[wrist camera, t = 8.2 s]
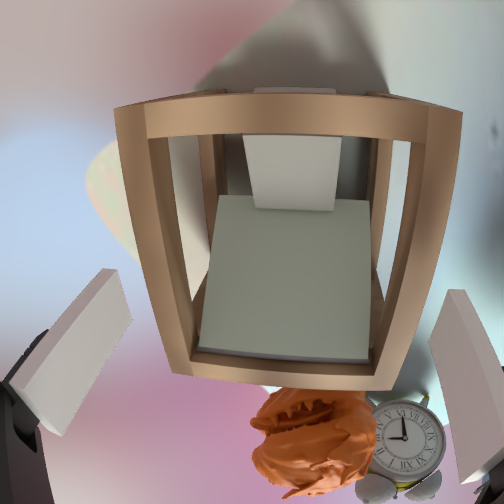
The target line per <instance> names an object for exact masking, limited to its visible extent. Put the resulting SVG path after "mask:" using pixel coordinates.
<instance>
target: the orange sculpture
mask: <svg viewBox="0 0 504 504" xmlns="http://www.w3.org/2000/svg"><path fill="white" fill-rule="evenodd" d="M365 395H366V392H365V391H353V390H321V389H303V388H288V387H283V388H281V389H280V390H278V391H277V392H274V393H271V394H270V398H269V399H268V400H267V401H266V402H265V403H264V405H263V406H262V408H261V409H260V410H259V411H258V413H257V417H256V418H252V419H251V420H250V424H251V426H252V427H254V428H256V429H258V430H260V431H261V432H262V433H263V434H264V435H266V439H265V441H264V442H263V443H262V444H261V445H260V446H258V447H257V448H256V449H255V450H254V451H253V454H252V461H253V463H254V465H255V467H256V468H257V470H258V471H259V472H260V473H261V474H262V475H263V476H265V477H266V478H268V480H269V482H270V483H272V484H273V485H280V486H284V487H289V488H294V489H292V490H291V491H289V492H288V493H287V494H285V495H284V496H283V497H282V499H286V498H288V497H291V496H295V495H301V496H304V495H306V494H307V493H308V495H309V496H311V497H313V496H320V495H323V494H325V493H326V492H330V491H333V490H335V489H338V488H342V487H345V486H347V485H349V484H350V483H352V482H353V481H356V480H360V479H362V478H364V477H365V476H366V473H367V471H368V466H369V464H370V463H371V461H372V458H373V450H374V449H375V447H376V443H377V437H376V427H377V425H378V423H377V422H376V419H375V418H374V417H373V416H372V415H371V413H372V410H373V408H372V406H371V405H370V404H368V403H367V401H365ZM365 464H366V465H365ZM363 465H365V467H364V468H362V467H363ZM361 468H362V469H361ZM360 469H361V470H360Z"/></svg>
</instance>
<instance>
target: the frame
mask: <svg viewBox="0 0 504 504" xmlns="http://www.w3.org/2000/svg"><path fill="white" fill-rule="evenodd" d="M462 115H463V112H460V111H457V110H454V109H450V108H447V107H443V106H439V105H436V104H432V103H428V102H424V101H420V100H416V99H411V98H407V97H402V96H398V95H393V94H387V93H378V92H368V91H367V96H362V95H350V94H334V93H312V92H251V93H228V94H226V89H222V90H208V91H199V92H193V93H187V94H181V95H176V96H169V97H164V98H159V99H154V100H149V101H145V102H140V103H135V104H131V105H127V106H123V107H119V108H115V109H114V117H115V126H116V133H117V141H118V148H119V154H120V161H121V167H122V173H123V179H124V185H125V190H126V196H127V201H128V206H129V211H130V216H131V221H132V226H133V231H134V235H135V240H136V244H137V249H138V253H139V257H140V262H141V266H142V270H143V274H144V278H145V282H146V285H147V289H148V293H149V297H150V301H151V304H152V308H153V312H154V315H155V319H156V322H157V326H158V329H159V332H160V335H161V339H162V342H163V345H164V349H165V352H166V355H167V358H168V361H169V364H170V367H171V370H172V372H173V373H177V374H183V375H189V376H195V377H202V378H208V379H215V380H222V381H230V382H237V383H247V384H255V385H265V386H276V387H288V388H303V389H321V390H353V391H386V390H392V388H393V385H394V383H395V381H396V379H397V376H398V374H399V372H400V369H401V367H402V365H403V362H404V360H405V357H406V355H407V352H408V350H409V347H410V344H411V342H412V339H413V336H414V334H415V331H416V328H417V325H418V323H419V320H420V317H421V314H422V311H423V308H424V305H425V302H426V299H427V296H428V292H429V289H430V286H431V283H432V279H433V276H434V272H435V269H436V265H437V261H438V257H439V254H440V250H441V246H442V242H443V237H444V233H445V229H446V224H447V220H448V215H449V210H450V205H451V200H452V194H453V188H454V182H455V176H456V170H457V163H458V155H459V147H460V138H461V127H462ZM233 133H298V134H325V135H343V136H357V137H370V138H371V139H370V156H369V170H368V182H367V193H366V201H369V209H370V234H371V304H370V330H369V348H368V354H370V363H369V364H350V363H323V362H305V361H290V360H276V359H265V358H254V357H244V356H235V355H226V354H218V353H210V352H203V351H197V343H198V341H199V340H200V331H201V323H202V315H203V307H204V299H205V291H206V284H207V276H208V271H207V273H206V275H205V277H204V279H203V281H202V283H201V285H200V287H199V289H198V291H197V293H196V295H195V297H194V299H193V301H191V295H190V290H189V284H188V279H187V273H186V267H185V261H184V255H183V249H182V243H181V236H180V230H179V223H178V216H177V209H176V202H175V195H174V187H173V179H172V171H171V163H170V155H169V146H168V137H174V136H188V135H198V137H199V148H200V160H201V171H202V181H203V191H204V201H205V211H206V220H207V229H208V238H209V247H210V254H211V247H212V240H213V234H214V227H215V220H216V214H217V207H218V201H219V195H228V193H227V179H226V164H225V149H224V134H233ZM393 140H400V141H408V142H411V148H410V158H409V168H408V177H407V185H406V192H405V199H404V206H403V213H402V219H401V225H400V231H399V237H398V242H397V247H396V253H395V258H394V263H393V267H392V272H391V277H390V281H389V286H388V290H387V294H386V298H385V302H384V298H383V294H382V290H381V286H380V283H379V279H378V275H377V271H376V268H377V263H378V257H379V251H380V245H381V239H382V233H383V226H384V219H385V212H386V205H387V197H388V188H389V179H390V169H391V158H392V146H393Z"/></svg>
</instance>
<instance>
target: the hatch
mask: <svg viewBox="0 0 504 504" xmlns="http://www.w3.org/2000/svg"><path fill="white" fill-rule="evenodd" d="M370 304H371V234H370V209H369V201H364V200H348V199H335V203H334V211H314V210H291V209H264V208H255V204H254V198H253V196H249V195H219V201H218V207H217V214H216V220H215V227H214V234H213V240H212V247H211V254H210V261H209V269H208V276H207V284H206V291H205V299H204V307H203V315H202V323H201V331H200V340H199V341H198V343H197V351H203V352H210V353H218V354H226V355H235V356H244V357H254V358H265V359H276V360H290V361H305V362H323V363H350V364H369V363H370V354H368V348H369V330H370Z"/></svg>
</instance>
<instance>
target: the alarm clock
mask: <svg viewBox="0 0 504 504" xmlns="http://www.w3.org/2000/svg"><path fill="white" fill-rule="evenodd" d="M365 401H367V403H368V404H370V405H371V406H372V408H373V410H372V413H371V415H372V416H373V417H374V418H375V419H376V422H377V423H378V425H377V427H376V437H377V443H376V447H375V449H374V450H373V458H372V461H371V463H370V464H369V466H368V471H367V473H366V476H365V477H364V478H362V479H360V480H357V481H356V484H355V492H356V495H357V497H358V498H359V499H360V500H361V501H362V502H363V503H364V504H382V503H384V502H386V501H388V500H389V499H391V497H393V499H397V496H396V495H397V492H402V491H405V490H407V489H410V488H412V487H414V486H415V485H416V484H418V483H420V484H418V485H417V486H416V487H414V488H413V489H411V490H410V491H408V492H407V493H405V494H404V495H405V496H406V497H407V498H408V499H409V500H412V501H424V500H427V499H432V498H434V496H435V493H436V492H437V491H438V490H439V488H440V486H441V482H442V475H441V472H440V470H438V471H436V472H435V473H434V474H432V475H431V476H430V477H428V478H427V479H425V478H426V477H427V476H429V475H430V474H431V473H432V472H433V471H434V470H435V469H436V468H437V467H438V465H439V464H440V462H441V461H442V459H443V456H444V453H445V449H446V436H445V432H444V428H443V426H442V424H441V422H440V421H439V419H438V418H437V416H436V415H435V414H434V413H433V412H432V411H431V410H429V409H428V408H427V405H428V401H429V396H428V395H426V396H425V397H424V398H423V399H422V401H421V402H420V404H419V403H417V402H414V401H409V400H390V401H386V402H383V403H381V404H379V405H377V406H376V405H375V404H374V403H373V402H372V401H371V400H370V399H369V398H368V397H367V396H366V395H365ZM365 465H366V464H365ZM365 465H363V467H362V468H364V467H365ZM362 468H361V469H362ZM361 469H360V470H361ZM424 479H425V480H424ZM422 480H424V481H422ZM395 493H396V494H395ZM394 494H395V495H394Z"/></svg>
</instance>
